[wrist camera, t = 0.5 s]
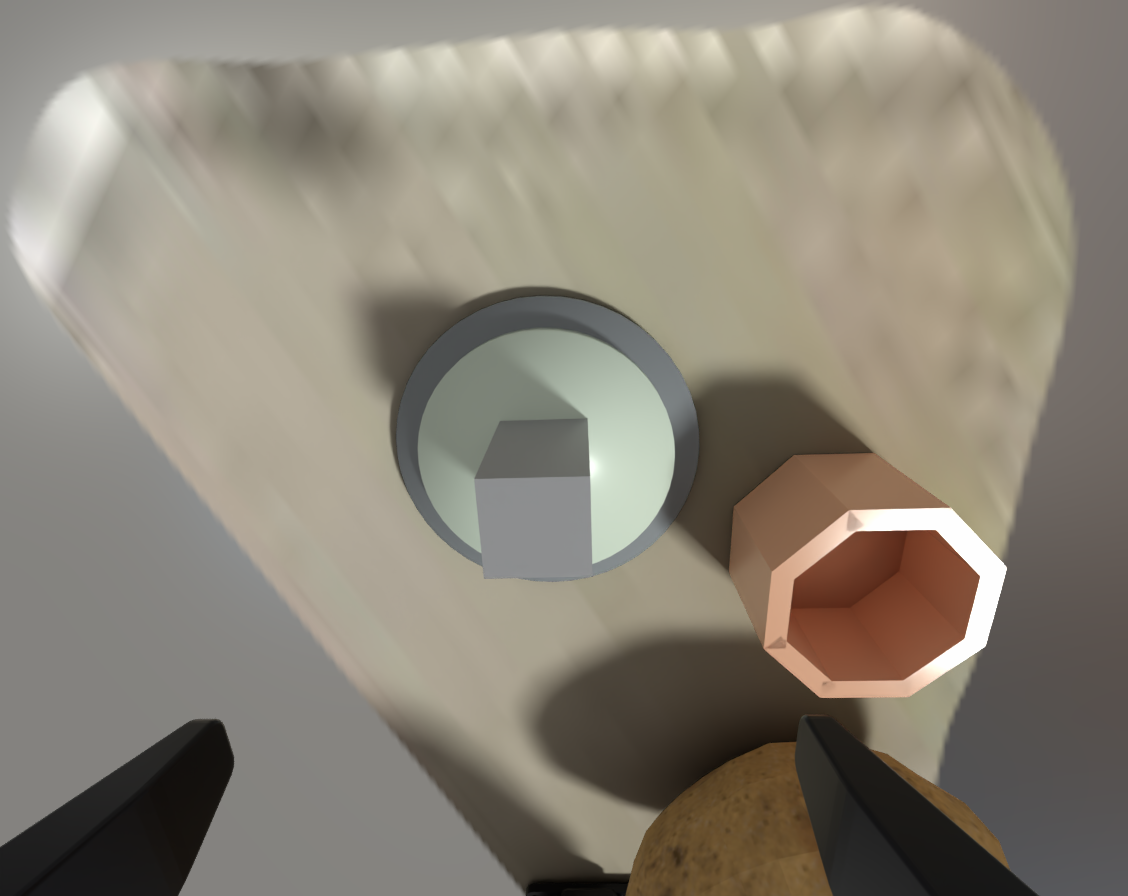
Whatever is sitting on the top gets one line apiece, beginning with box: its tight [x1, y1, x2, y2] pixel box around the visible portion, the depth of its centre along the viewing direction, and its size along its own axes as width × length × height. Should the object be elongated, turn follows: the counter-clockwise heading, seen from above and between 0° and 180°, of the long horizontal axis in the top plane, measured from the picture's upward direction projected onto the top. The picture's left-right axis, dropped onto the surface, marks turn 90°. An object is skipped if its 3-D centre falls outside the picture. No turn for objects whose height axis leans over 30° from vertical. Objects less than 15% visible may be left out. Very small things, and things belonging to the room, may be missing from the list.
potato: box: [625, 742, 1010, 896], centre depth 22 cm, size 10×14×8 cm
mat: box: [396, 296, 699, 582], centre depth 21 cm, size 11×11×1 cm
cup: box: [729, 453, 1007, 698], centre depth 20 cm, size 7×7×4 cm
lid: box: [418, 327, 675, 579], centre depth 18 cm, size 9×9×6 cm
